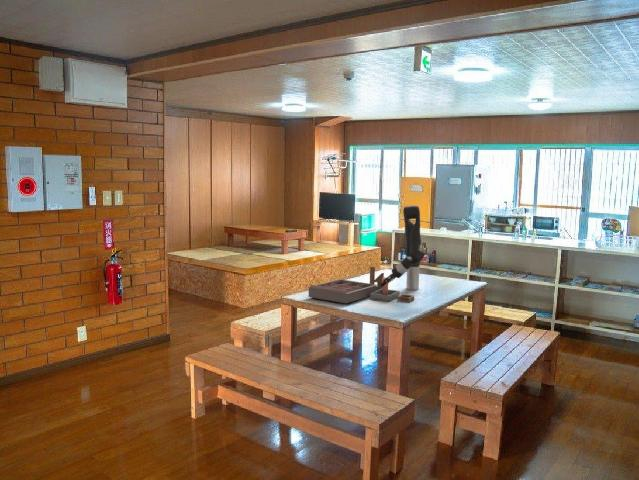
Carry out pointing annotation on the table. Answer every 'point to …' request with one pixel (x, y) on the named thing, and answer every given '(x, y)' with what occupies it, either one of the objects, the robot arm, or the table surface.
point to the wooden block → (378, 279)
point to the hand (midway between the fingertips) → (383, 285)
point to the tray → (378, 295)
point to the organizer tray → (341, 291)
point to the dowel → (384, 287)
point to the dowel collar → (406, 298)
